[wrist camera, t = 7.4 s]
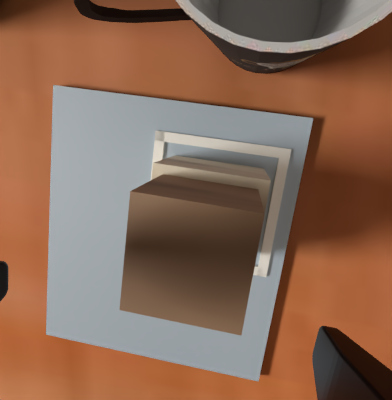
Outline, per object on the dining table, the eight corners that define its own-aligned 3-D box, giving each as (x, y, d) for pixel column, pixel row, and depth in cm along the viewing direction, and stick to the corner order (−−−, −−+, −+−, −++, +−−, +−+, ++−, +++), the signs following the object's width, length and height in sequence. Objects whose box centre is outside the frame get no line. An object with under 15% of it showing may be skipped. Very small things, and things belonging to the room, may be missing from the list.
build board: (258, 375, 23) (258, 383, 22) (50, 329, 25) (44, 336, 24) (311, 118, 19) (314, 117, 18) (58, 86, 21) (51, 84, 20)
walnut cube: (241, 278, 16) (241, 335, 11) (152, 261, 16) (119, 310, 12) (258, 189, 15) (264, 213, 10) (162, 174, 15) (130, 191, 11)
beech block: (248, 252, 20) (250, 290, 16) (165, 238, 21) (142, 269, 16) (263, 168, 19) (271, 180, 14) (175, 155, 20) (153, 162, 15)
